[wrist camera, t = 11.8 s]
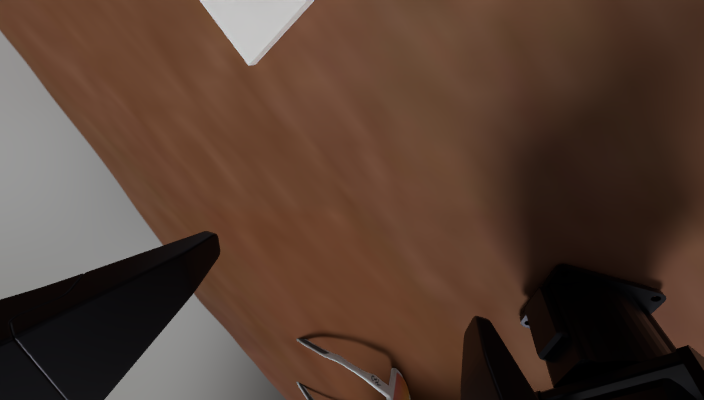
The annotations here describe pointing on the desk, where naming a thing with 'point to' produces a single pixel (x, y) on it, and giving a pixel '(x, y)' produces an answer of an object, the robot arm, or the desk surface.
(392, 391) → the sunglasses
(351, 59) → the desk surface
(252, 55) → the white block board
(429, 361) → the desk surface
